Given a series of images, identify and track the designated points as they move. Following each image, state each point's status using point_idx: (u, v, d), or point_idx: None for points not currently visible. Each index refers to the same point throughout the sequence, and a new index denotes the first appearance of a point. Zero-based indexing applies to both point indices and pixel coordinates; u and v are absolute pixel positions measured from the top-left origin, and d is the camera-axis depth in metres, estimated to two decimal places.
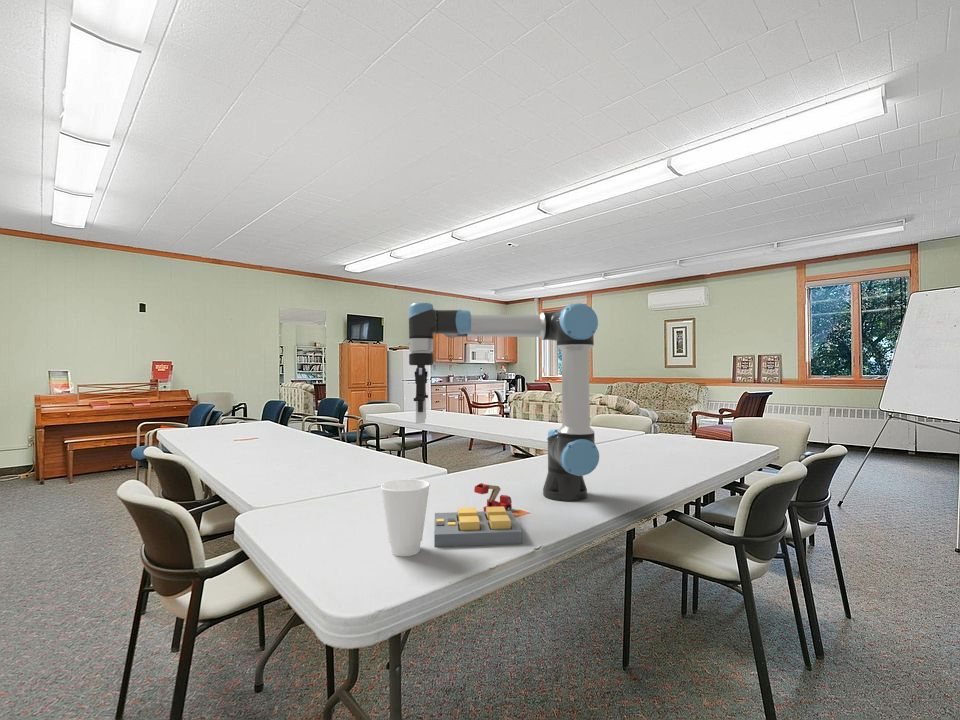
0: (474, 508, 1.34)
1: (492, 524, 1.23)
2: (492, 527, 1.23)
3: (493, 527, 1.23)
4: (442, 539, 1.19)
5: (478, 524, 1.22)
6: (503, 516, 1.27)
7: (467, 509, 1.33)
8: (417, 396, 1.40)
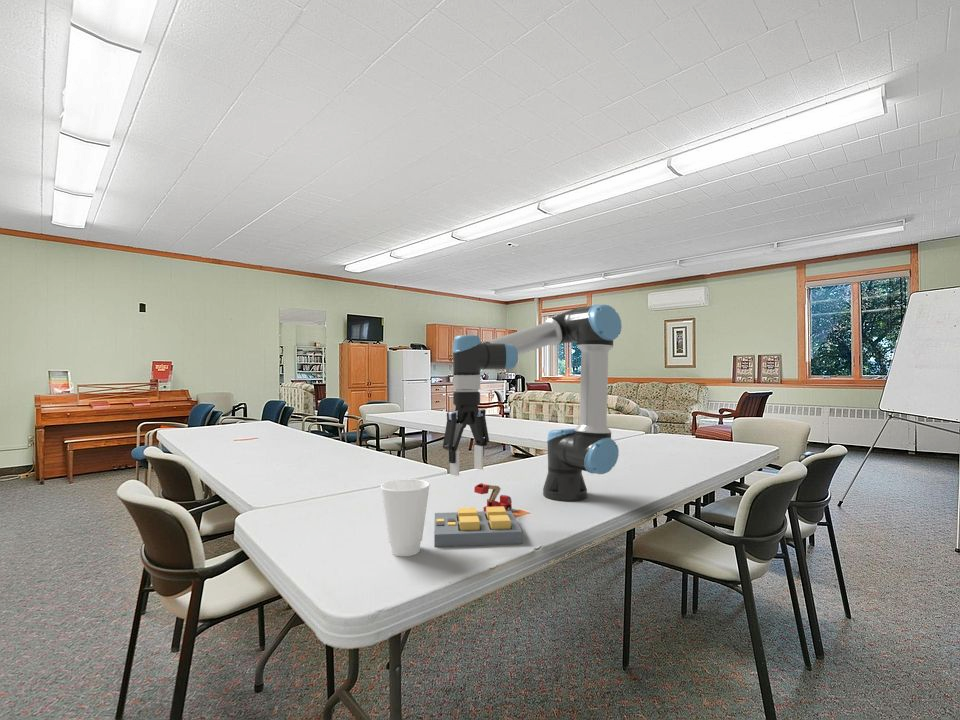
0: (474, 508, 1.34)
1: (492, 524, 1.23)
2: (492, 527, 1.23)
3: (493, 527, 1.23)
4: (442, 539, 1.19)
5: (478, 524, 1.22)
6: (503, 516, 1.27)
7: (467, 509, 1.33)
8: (444, 446, 1.27)
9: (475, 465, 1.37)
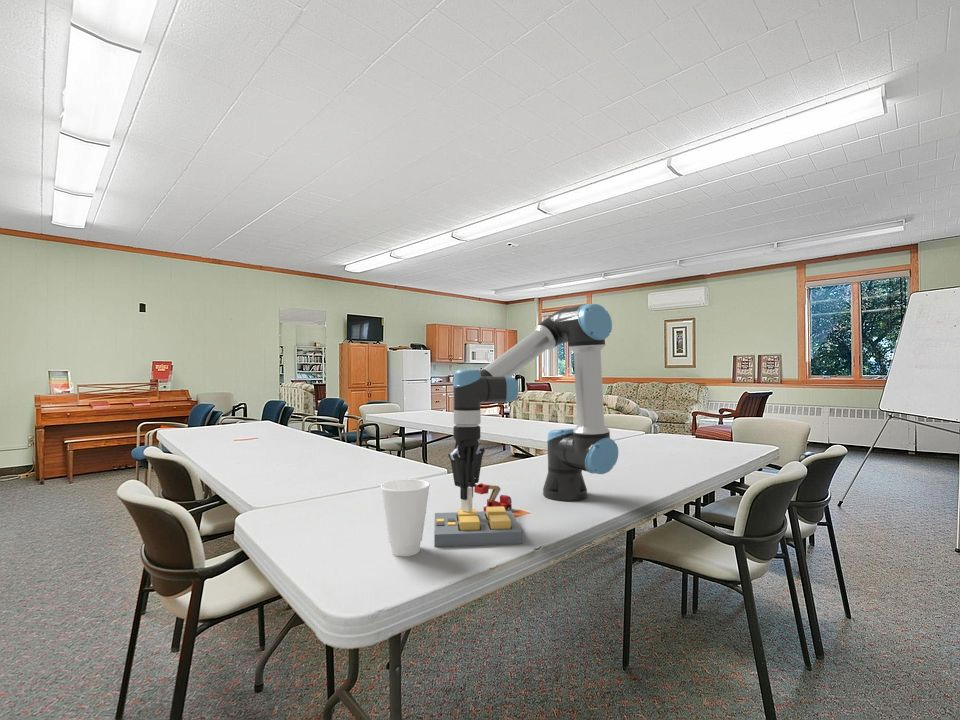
0: (474, 509, 1.34)
1: (492, 524, 1.23)
2: (492, 527, 1.23)
3: (493, 527, 1.23)
4: (442, 539, 1.19)
5: (478, 524, 1.22)
6: (503, 516, 1.27)
7: None
8: (455, 484, 1.30)
9: None
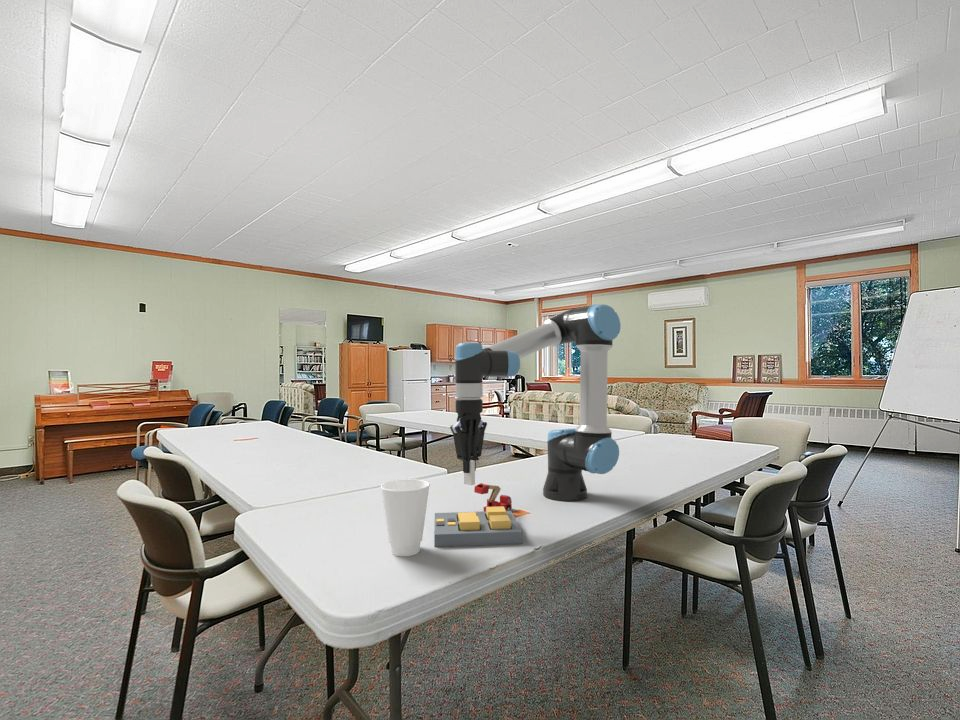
0: (474, 513, 1.34)
1: (492, 524, 1.23)
2: (492, 527, 1.23)
3: (493, 527, 1.23)
4: (442, 539, 1.19)
5: (478, 524, 1.22)
6: (503, 516, 1.27)
7: (467, 514, 1.33)
8: (458, 457, 1.30)
9: None
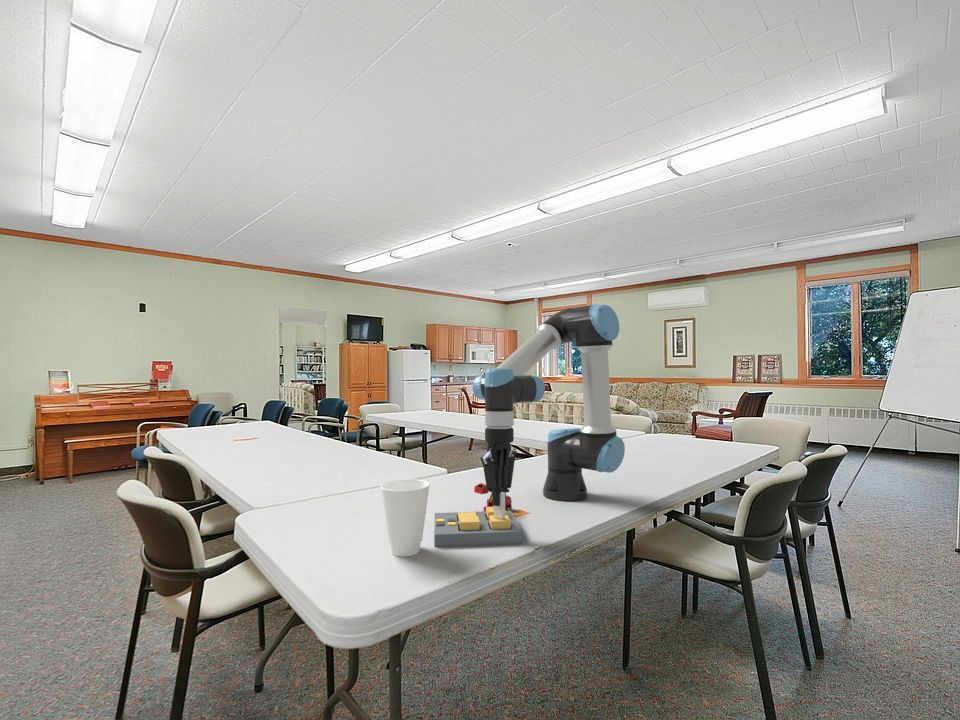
0: (474, 513, 1.34)
1: (492, 524, 1.23)
2: (492, 527, 1.23)
3: (493, 527, 1.23)
4: (442, 539, 1.19)
5: (478, 524, 1.22)
6: None
7: (467, 514, 1.33)
8: (488, 489, 1.23)
9: None
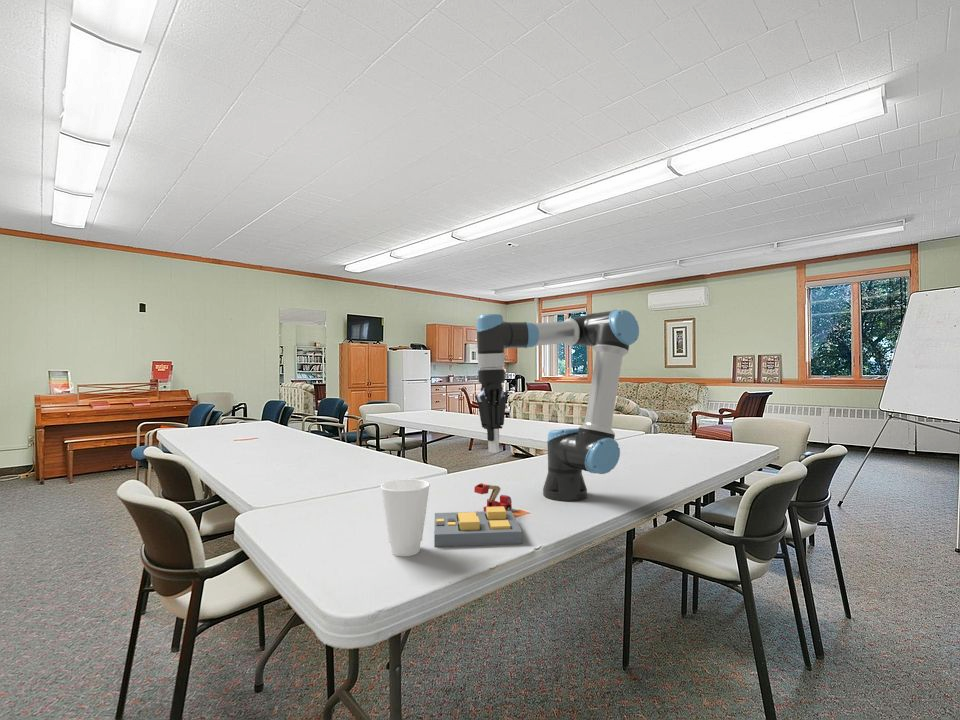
0: (474, 513, 1.34)
1: (492, 529, 1.23)
2: None
3: None
4: (442, 539, 1.19)
5: (478, 524, 1.22)
6: (503, 521, 1.27)
7: (467, 514, 1.33)
8: (483, 426, 1.34)
9: None
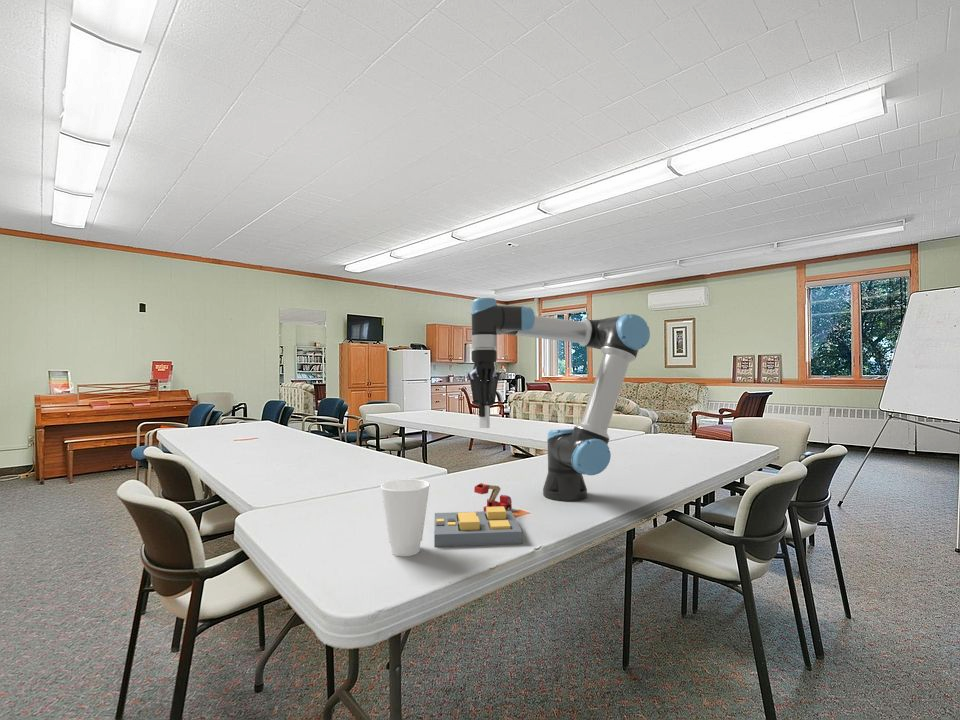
0: (474, 513, 1.34)
1: (492, 529, 1.23)
2: None
3: None
4: (442, 539, 1.19)
5: (478, 524, 1.22)
6: (503, 521, 1.27)
7: (467, 514, 1.33)
8: (474, 402, 1.42)
9: None
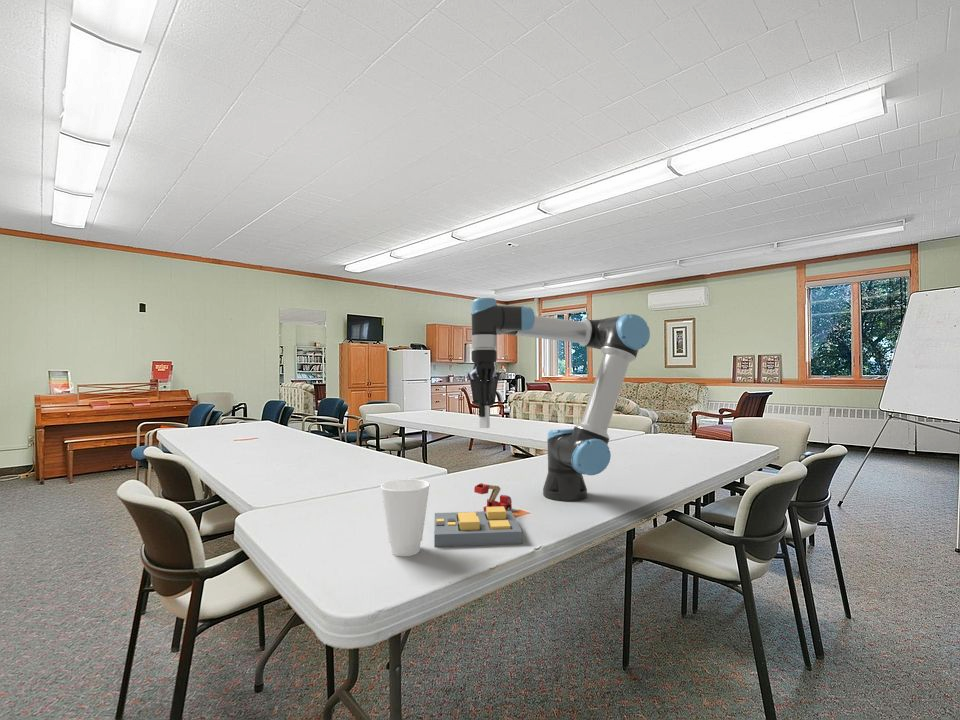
0: (474, 513, 1.34)
1: (492, 529, 1.23)
2: None
3: None
4: (442, 539, 1.19)
5: (478, 524, 1.22)
6: (503, 521, 1.27)
7: (467, 514, 1.33)
8: (474, 402, 1.42)
9: None
